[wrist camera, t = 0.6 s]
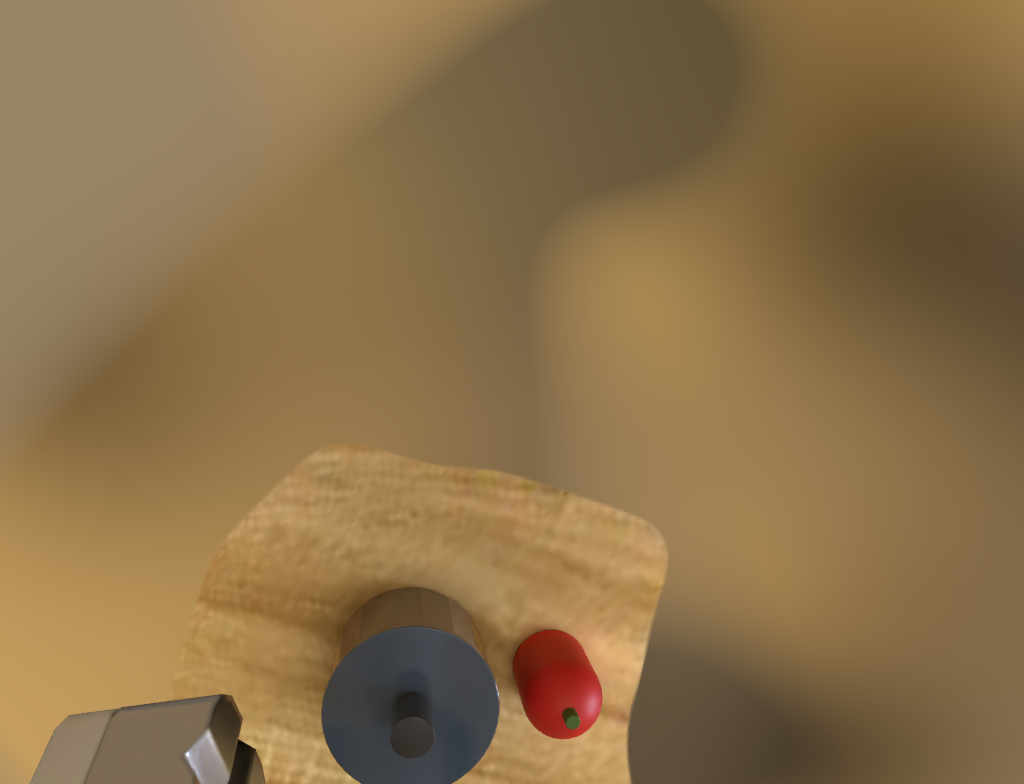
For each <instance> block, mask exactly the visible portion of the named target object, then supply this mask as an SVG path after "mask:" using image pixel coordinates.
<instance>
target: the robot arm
mask: <svg viewBox="0 0 1024 784" xmlns="http://www.w3.org/2000/svg"><path fill="white" fill-rule="evenodd" d="M242 720H243V718H242V716H241V714H240V712H239V710H238V708H237V705H236V703H235V701H234V699H233V697H232V696H231V695H224V694H220V695H213V696H205V697H197V698H190V699H182V700H174V701H166V702H159V703H151V704H144V705H136V706H128V707H121V708H120V709H112V710H104V711H97V712H90V713H82V714H74V715H69V716H68V717H67V718H66V719H65V720H64V721H63V722H62V723H61V724H60V725H59V726H58V727H57V728H56V729H55V730H54V732H53V735H52V736H51V739H50V741H49V743H48V745H47V747H46V750H45V752H44V754H43V756H42V758H41V760H40V762H39V765H38V767H37V769H36V771H35V774H34V776H33V778H32V780H31V782H30V784H266V783H265V778H264V773H263V767H262V764H261V762H260V759H259V757H258V754H257V752H256V749H254V748H252V747H251V746H249V745H247V744H246V743H244V742H242V741H241V740H239V739H238V738H239V734H240V729H241V724H242Z"/></svg>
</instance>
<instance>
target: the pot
mask: <svg viewBox="0 0 1024 784" xmlns="http://www.w3.org/2000/svg"><path fill="white" fill-rule="evenodd" d="M407 623H422V624H430V625H435V626H439V627H442V628H445V629H448V630H451V631H453V632H455V633H456V634H458V635H460V636H462V637H463V638H465V639H466V640H468V641H469V642H470V643H471V644H472V645H473V646H474V647H476V648H477V649H478V651H479V652H480V653H481V654H482V655H483V657H484V658H485V660H486V661H487V659H486V655H485V651H484V647H483V643H482V639H481V637H480V635H479V633H478V630H477V628H476V626H475V624H474V622H473V621H472V619H471V617H470V616H469V615H468V613H467V612H466V611H465V610H464V609H463V608H462V607H461V606H460V605H459V604H458V603H456V602H455V601H454V600H452V599H451V598H449V597H447V596H445V595H443V594H441V593H438V592H435V591H432V590H428V589H422V588H402V589H396V590H392V591H389V592H386V593H383V594H381V595H379V596H377V597H375V598H373V599H371V600H370V601H368V602H367V603H366V604H364V605H363V606H362V607H361V608H360V609H358V610H357V611H356V612H355V613H354V615H353V616H352V617H351V619H350V620H349V621H348V623H347V624H346V626H345V627H344V629H343V632H342V634H341V637H340V639H339V643H338V646H337V649H336V652H335V656H334V662H333V668H332V671H333V670H334V668H335V666H336V665H337V663H338V662H339V661H340V659H341V658H342V657H343V656H344V654H345V653H346V652H347V651H348V650H349V649H350V648H351V647H352V646H354V645H355V644H356V643H358V642H359V641H360V640H362V639H363V638H365V637H367V636H368V635H370V634H372V633H374V632H376V631H379V630H381V629H384V628H387V627H390V626H394V625H400V624H407Z"/></svg>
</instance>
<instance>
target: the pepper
mask: <svg viewBox="0 0 1024 784" xmlns="http://www.w3.org/2000/svg"><path fill="white" fill-rule="evenodd" d="M513 673H514V677H515V681H516V684H517V687H518V691H519V694H520V697H521V700H522V704H523V707H524V710H525V713H526V715H527V717H528V719H529V721H530V722H531V723H532V724H533V726H534V727H535V728H536V729H537V730H539V731H540V732H541V733H543V734H545V735H547V736H549V737H552V738H556V739H570V738H574V737H577V736H579V735H581V734H583V733H585V732H586V731H587V730H588V729H589V728H590V727H591V726H592V725H593V724H594V723H595V721H596V719H597V718H598V716H599V713H600V710H601V706H602V689H601V685H600V682H599V680H598V677H597V675H596V673H595V671H594V670H593V668H592V666H591V664H590V662H589V660H588V658H587V656H586V654H585V652H584V650H583V649H582V647H581V645H580V644H579V642H578V641H577V640H576V639H575V638H574V637H572V636H571V635H569V634H567V633H565V632H562V631H558V630H546V631H541V632H538V633H536V634H534V635H532V636H530V637H529V638H528V639H526V640H525V641H524V642H523V643H522V645H521V646H520V647H519V649H518V650H517V652H516V655H515V658H514V662H513Z"/></svg>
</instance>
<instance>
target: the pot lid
mask: <svg viewBox="0 0 1024 784" xmlns="http://www.w3.org/2000/svg"><path fill="white" fill-rule="evenodd" d="M321 713H322V727H323V733H324V736H325V740H326V743H327V745H328V747H329V749H330V752H331V754H332V755H333V757H334V758H335V760H336V761H337V763H338V764H339V765H340V766H341V767H342V768H343V769H344V771H345V772H347V773H348V774H349V775H350V776H351V777H352V778H354V779H355V780H357V781H358V782H360V783H361V784H452V783H453V782H455V781H457V780H458V779H460V778H461V777H463V776H464V775H465V774H466V773H468V772H469V771H470V770H471V769H472V768H473V767H474V766H475V765H476V764H477V763H478V762H479V760H480V759H481V758H482V757H483V755H484V754H485V752H486V751H487V749H488V747H489V746H490V744H491V741H492V739H493V737H494V734H495V731H496V728H497V724H498V718H499V694H498V689H497V685H496V681H495V678H494V675H493V673H492V670H491V668H490V666H489V664H488V663H487V661H486V660H485V658H484V657H483V655H482V654H481V653H480V652H479V651H478V649H477V648H476V647H474V646H473V645H472V644H471V643H470V642H469V641H468V640H466V639H465V638H463V637H462V636H460V635H458V634H456V633H455V632H453V631H451V630H448V629H445V628H442V627H439V626H435V625H430V624H422V623H407V624H400V625H394V626H390V627H387V628H384V629H381V630H379V631H376V632H374V633H372V634H370V635H368V636H367V637H365V638H363V639H362V640H360V641H359V642H358V643H356V644H355V645H354V646H352V647H351V648H350V649H349V650H348V651H347V652H346V653H345V654H344V656H343V657H342V658H341V659H340V661H339V662H338V663H337V665H336V666H335V668H334V670H333V671H332V673H331V675H330V678H329V680H328V682H327V685H326V688H325V692H324V696H323V702H322V710H321Z"/></svg>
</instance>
